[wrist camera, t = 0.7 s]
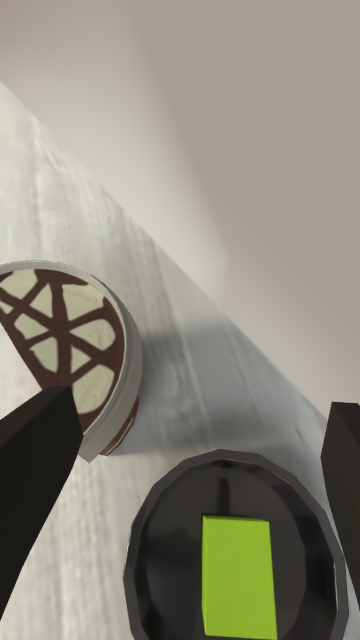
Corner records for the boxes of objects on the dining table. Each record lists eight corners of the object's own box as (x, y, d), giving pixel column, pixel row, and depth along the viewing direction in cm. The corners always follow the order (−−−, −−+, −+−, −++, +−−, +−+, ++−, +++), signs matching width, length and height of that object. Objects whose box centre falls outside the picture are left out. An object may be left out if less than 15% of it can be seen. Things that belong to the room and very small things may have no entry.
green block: (258, 610, 19) (277, 640, 15) (201, 607, 19) (205, 635, 15) (253, 517, 21) (269, 521, 17) (202, 514, 21) (205, 518, 17)
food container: (189, 415, 24) (190, 368, 16) (119, 474, 23) (76, 458, 14) (98, 304, 29) (60, 219, 20) (35, 345, 27) (-38, 272, 18)
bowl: (367, 581, 20) (396, 594, 17) (217, 760, 16) (223, 810, 14) (235, 421, 24) (241, 411, 21) (97, 537, 21) (83, 542, 18)
